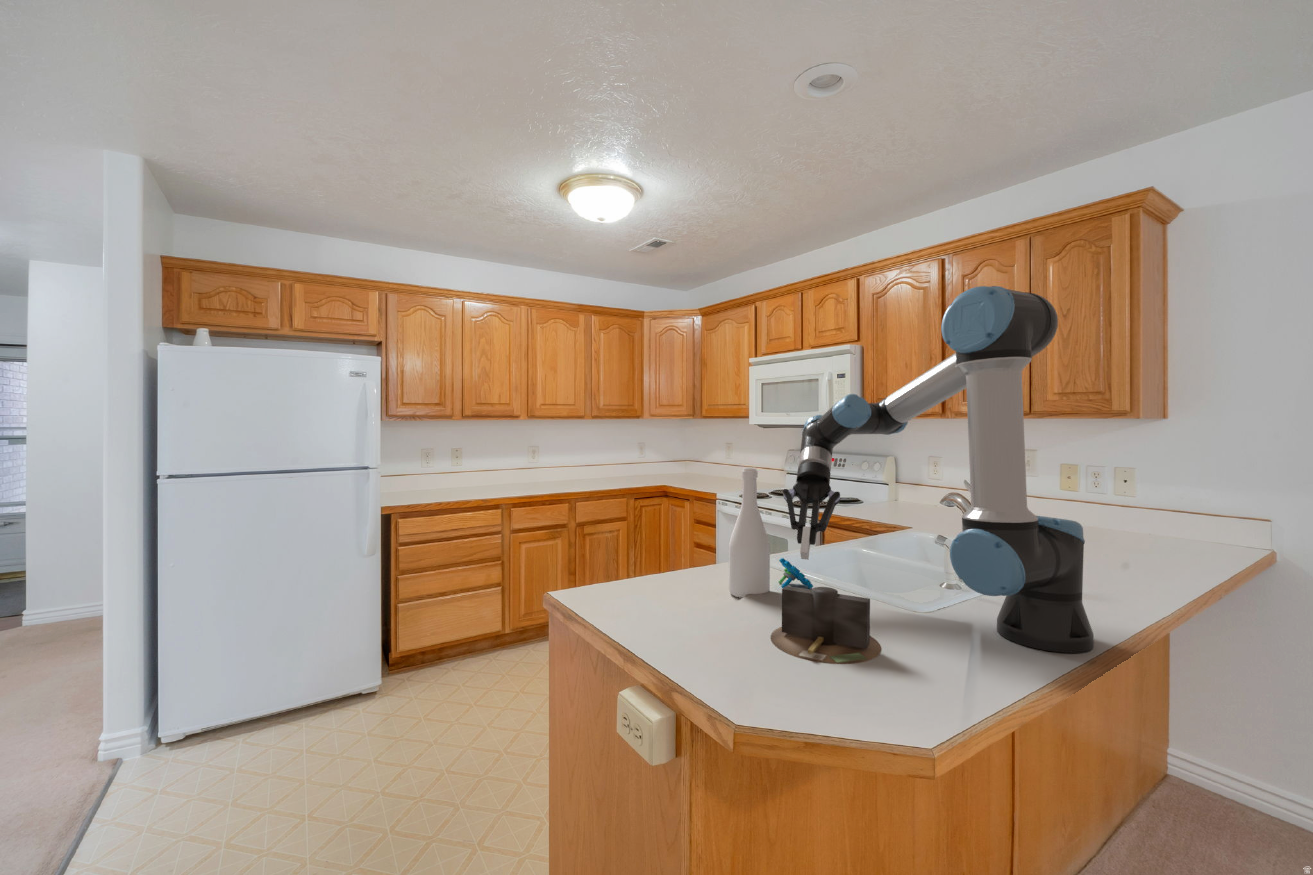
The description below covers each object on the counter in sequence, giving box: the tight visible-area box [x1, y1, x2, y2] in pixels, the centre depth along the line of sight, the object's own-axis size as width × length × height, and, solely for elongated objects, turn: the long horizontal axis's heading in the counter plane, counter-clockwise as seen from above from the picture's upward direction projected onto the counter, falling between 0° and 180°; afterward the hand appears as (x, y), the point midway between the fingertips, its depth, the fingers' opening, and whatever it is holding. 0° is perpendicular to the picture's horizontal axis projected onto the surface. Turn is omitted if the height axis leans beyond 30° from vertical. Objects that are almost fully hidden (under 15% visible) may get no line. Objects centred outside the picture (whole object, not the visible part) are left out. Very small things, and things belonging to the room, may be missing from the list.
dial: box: [770, 626, 882, 665], centre depth 102 cm, size 19×19×2 cm
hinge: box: [781, 585, 871, 654], centre depth 99 cm, size 15×11×9 cm
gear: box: [778, 557, 814, 589], centre depth 140 cm, size 11×6×10 cm
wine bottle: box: [728, 467, 771, 599], centre depth 135 cm, size 10×10×30 cm
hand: (804, 555), depth 120 cm, fingers closed
